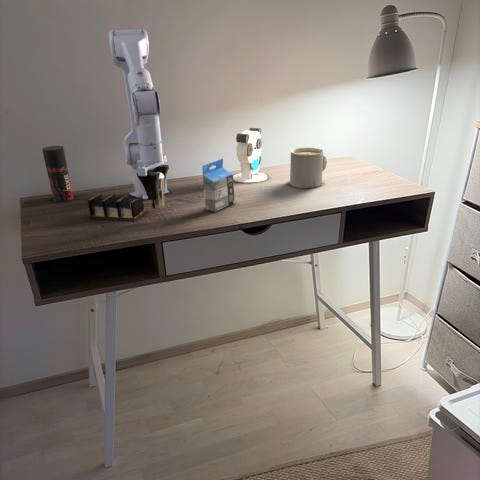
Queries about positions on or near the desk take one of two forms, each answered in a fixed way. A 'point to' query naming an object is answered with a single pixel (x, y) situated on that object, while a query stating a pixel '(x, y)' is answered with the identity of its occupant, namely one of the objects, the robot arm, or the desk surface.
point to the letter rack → (116, 208)
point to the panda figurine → (249, 156)
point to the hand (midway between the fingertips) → (156, 196)
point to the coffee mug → (307, 167)
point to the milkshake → (159, 193)
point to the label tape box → (217, 186)
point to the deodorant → (58, 173)
